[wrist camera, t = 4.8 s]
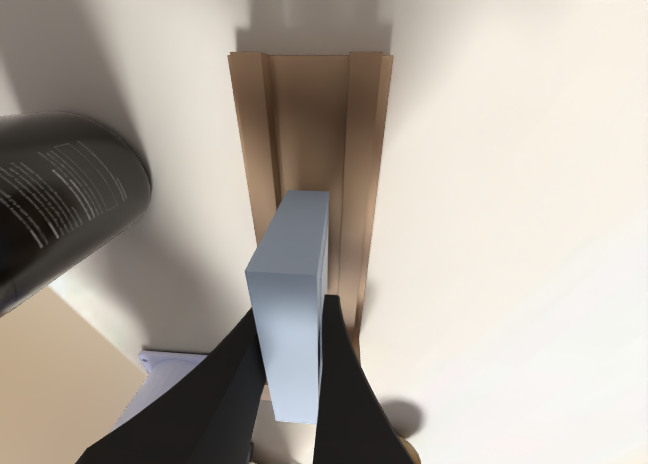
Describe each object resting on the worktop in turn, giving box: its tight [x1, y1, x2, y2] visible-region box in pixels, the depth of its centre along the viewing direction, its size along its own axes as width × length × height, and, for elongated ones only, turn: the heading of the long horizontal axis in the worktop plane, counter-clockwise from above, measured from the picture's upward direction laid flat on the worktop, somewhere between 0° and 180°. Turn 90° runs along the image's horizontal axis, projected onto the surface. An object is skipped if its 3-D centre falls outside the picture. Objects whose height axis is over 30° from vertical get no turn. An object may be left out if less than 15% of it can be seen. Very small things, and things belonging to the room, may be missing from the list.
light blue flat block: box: [245, 190, 329, 425], centre depth 12 cm, size 9×2×6 cm, turn 0°
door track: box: [227, 52, 393, 401], centre depth 14 cm, size 20×7×5 cm, turn 0°
